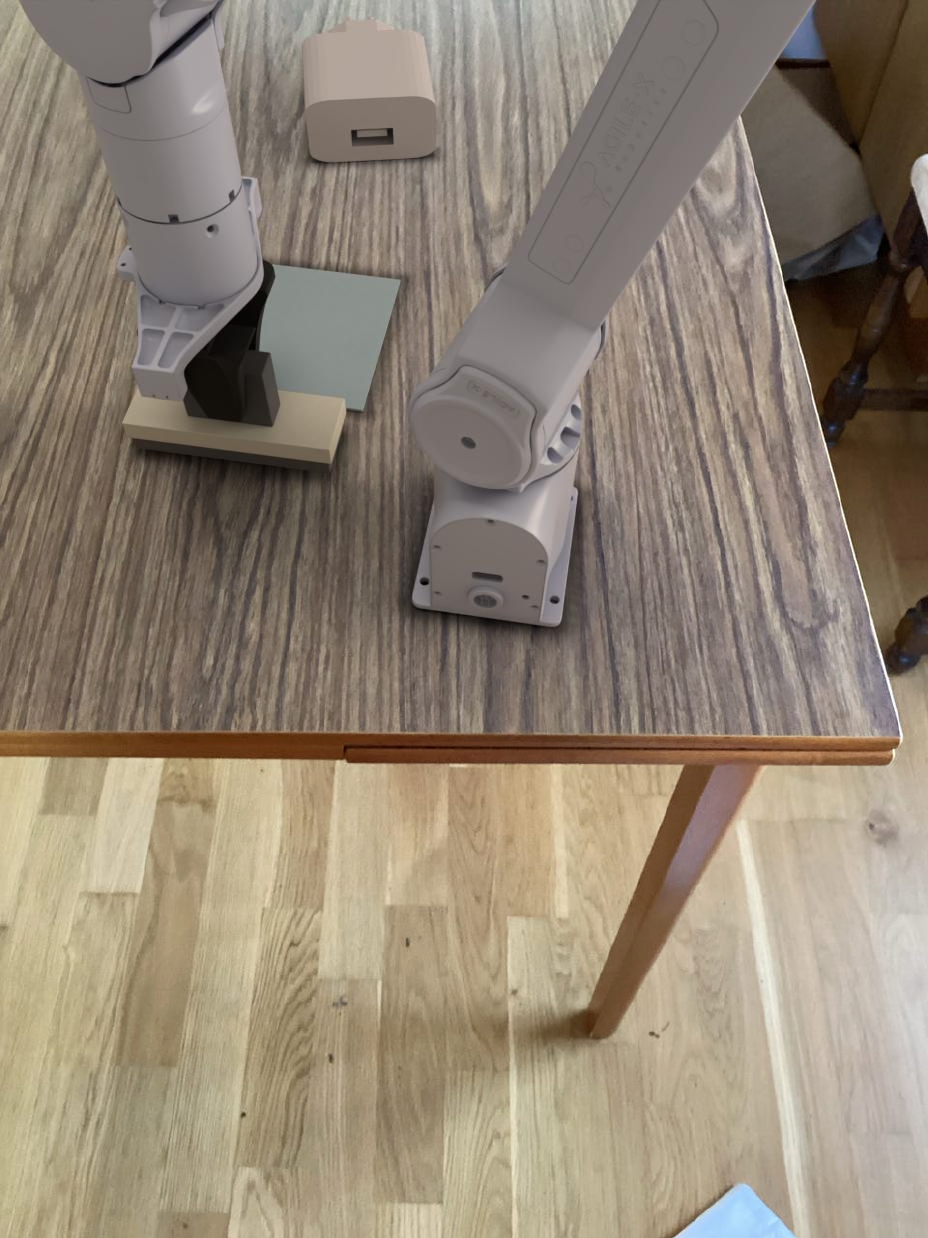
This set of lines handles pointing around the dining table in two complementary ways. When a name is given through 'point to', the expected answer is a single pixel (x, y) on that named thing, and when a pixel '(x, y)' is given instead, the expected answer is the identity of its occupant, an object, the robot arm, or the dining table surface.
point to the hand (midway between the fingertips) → (232, 399)
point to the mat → (326, 331)
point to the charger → (368, 93)
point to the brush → (245, 424)
